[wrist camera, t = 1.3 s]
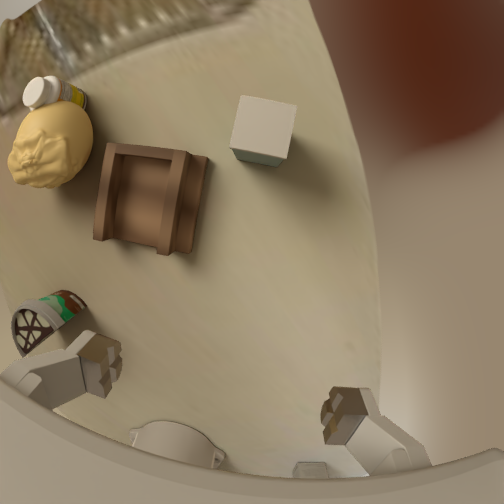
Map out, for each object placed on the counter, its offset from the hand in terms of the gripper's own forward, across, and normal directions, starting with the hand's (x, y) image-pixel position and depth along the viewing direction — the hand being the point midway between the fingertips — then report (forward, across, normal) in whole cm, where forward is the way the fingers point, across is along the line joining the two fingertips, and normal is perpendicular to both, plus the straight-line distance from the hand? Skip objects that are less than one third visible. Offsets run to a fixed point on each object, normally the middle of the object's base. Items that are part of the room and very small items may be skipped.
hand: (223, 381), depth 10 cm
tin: (+28, -1, +11) cm, 30 cm away
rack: (+27, -14, +2) cm, 31 cm away
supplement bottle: (+28, -30, +13) cm, 43 cm away
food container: (+25, -28, -17) cm, 42 cm away
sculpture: (+27, -28, +7) cm, 40 cm away
